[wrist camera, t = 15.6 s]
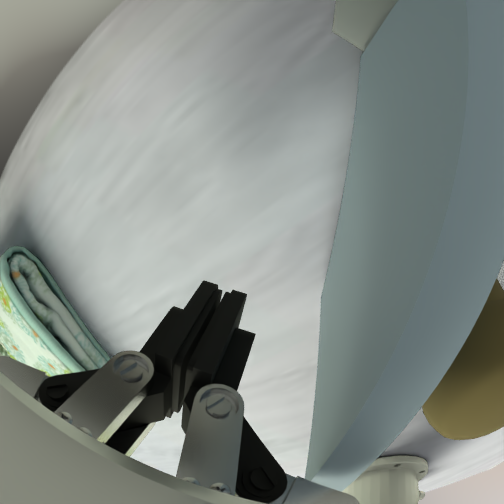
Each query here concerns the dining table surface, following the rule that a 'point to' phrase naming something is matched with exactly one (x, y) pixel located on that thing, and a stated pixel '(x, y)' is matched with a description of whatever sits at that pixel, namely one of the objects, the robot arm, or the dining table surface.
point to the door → (410, 227)
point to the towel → (42, 319)
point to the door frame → (360, 19)
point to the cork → (473, 379)
